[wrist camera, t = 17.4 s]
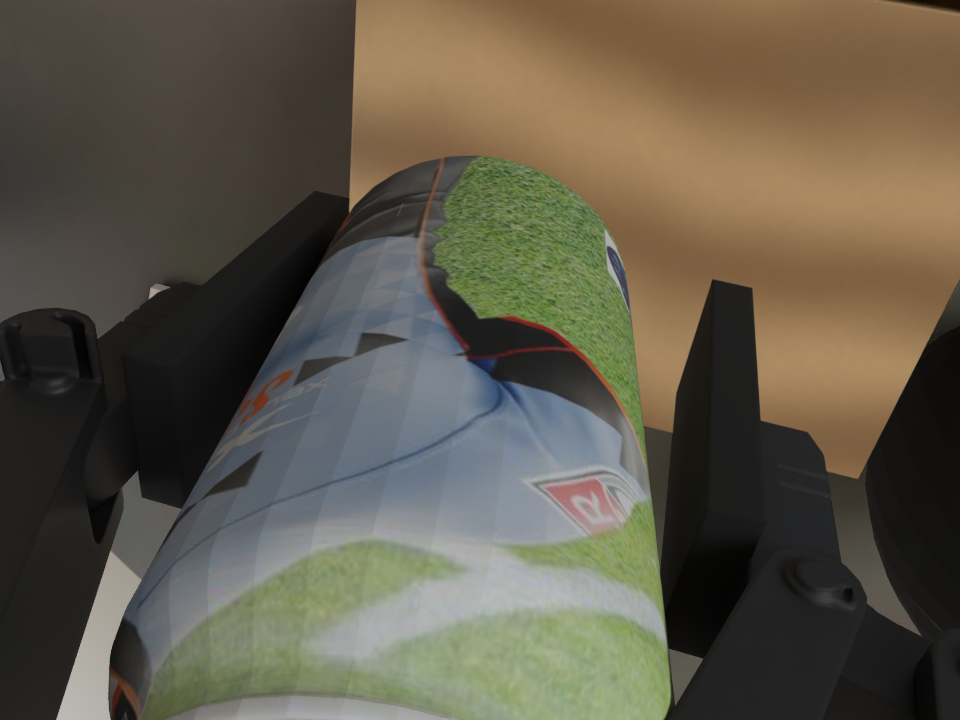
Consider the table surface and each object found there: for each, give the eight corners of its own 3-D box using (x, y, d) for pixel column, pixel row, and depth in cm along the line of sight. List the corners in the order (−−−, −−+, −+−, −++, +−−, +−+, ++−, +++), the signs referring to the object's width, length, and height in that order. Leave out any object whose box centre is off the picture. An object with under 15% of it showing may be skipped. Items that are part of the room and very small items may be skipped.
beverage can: (349, 120, 16) (-230, 541, 6) (729, 161, 15) (739, 785, 5) (362, 382, 20) (-2, 922, 10) (673, 436, 18) (613, 1130, 8)
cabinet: (479, -110, 32) (358, -89, 22) (955, -34, 30) (1084, 34, 19) (445, 217, 40) (343, 352, 29) (820, 299, 37) (858, 480, 27)
